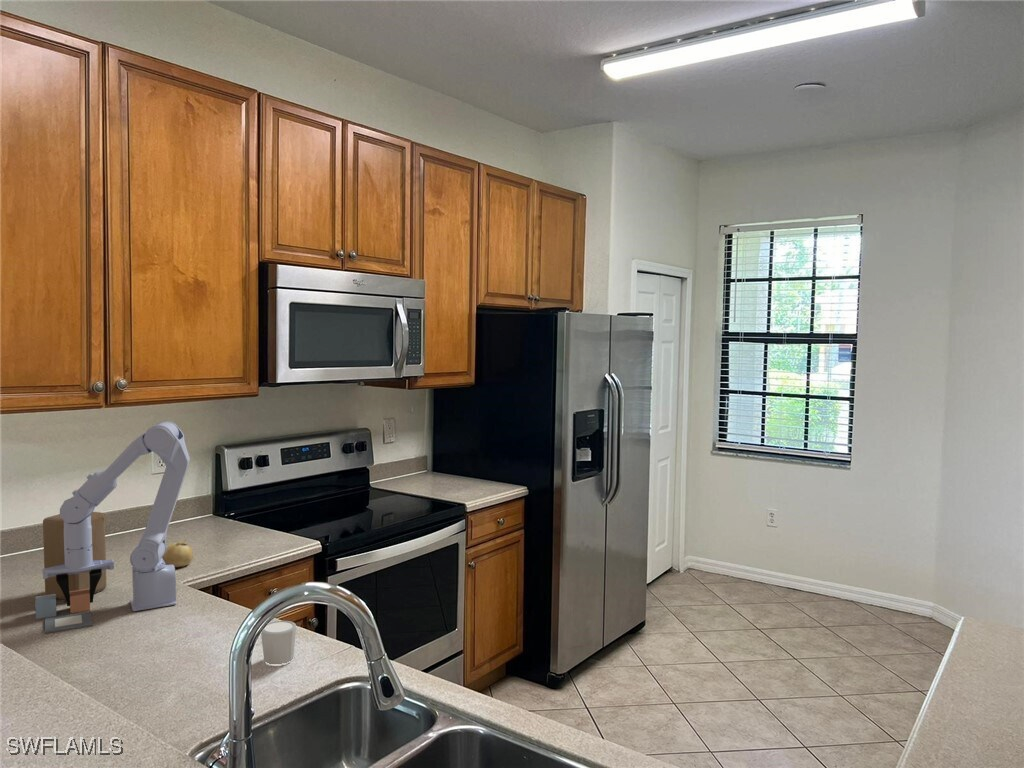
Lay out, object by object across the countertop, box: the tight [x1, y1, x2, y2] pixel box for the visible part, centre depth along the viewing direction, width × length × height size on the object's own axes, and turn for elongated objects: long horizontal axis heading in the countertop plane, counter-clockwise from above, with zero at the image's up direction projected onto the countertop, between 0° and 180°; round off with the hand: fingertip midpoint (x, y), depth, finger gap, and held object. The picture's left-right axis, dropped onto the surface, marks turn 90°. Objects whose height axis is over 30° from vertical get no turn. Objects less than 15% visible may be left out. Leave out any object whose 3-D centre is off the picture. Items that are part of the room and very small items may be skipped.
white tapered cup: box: [260, 620, 297, 664], centre depth 151 cm, size 7×7×7 cm
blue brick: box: [34, 594, 57, 620], centre depth 174 cm, size 4×4×4 cm
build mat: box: [44, 610, 93, 634], centre depth 170 cm, size 9×9×1 cm
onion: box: [161, 539, 194, 568], centre depth 211 cm, size 8×8×7 cm
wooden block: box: [42, 511, 108, 600], centre depth 188 cm, size 10×10×20 cm
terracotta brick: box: [69, 589, 91, 614], centre depth 178 cm, size 4×4×4 cm
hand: (80, 603), depth 178 cm, fingers closed on terracotta brick, 4 cm apart
